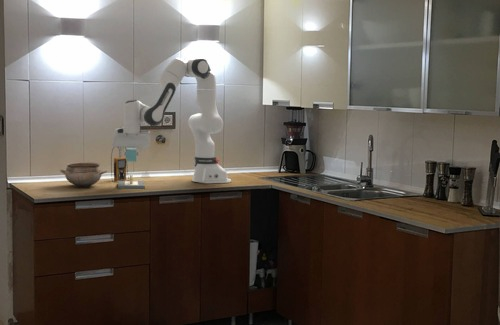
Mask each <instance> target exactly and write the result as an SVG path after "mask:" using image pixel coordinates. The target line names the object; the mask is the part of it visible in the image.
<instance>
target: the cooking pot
mask: <svg viewBox="0 0 500 325" xmlns="http://www.w3.org/2000/svg"><path fill="white" fill-rule="evenodd" d="M66 165H67V166H66V169H65V170H64V169H61V168H60V169H59V172H60V173H62V174H63V175H64V176H65V179H66V180H67V181H68V182H69V183H70V184H72V185H73V186H75V187H76V188H84V189H85V188H90V187H92V186H93V185H94V184H96V183H98V182H99V181H100V180H101V178H102V175H104V174H106V173H107V172H108V170H104V171H102V170H101V167H100V165H101V163H100V162H96V161H95V162H92V161H75V162H74V161H73V162H68V163H66Z"/></svg>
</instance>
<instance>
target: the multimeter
mask: <svg viewBox="0 0 500 325" xmlns="http://www.w3.org/2000/svg"><path fill="white" fill-rule="evenodd" d="M126 148H127V147H124V149H126ZM117 149H118V151H119V153H118V157H115V158H113V164H112V155H113V153H111V154H110V170H111V176H113V179H111V182H112V183H114V182H118V181H130V176H127V174H129V173H128V172H129V170H128V167H129V166H127V163H128V161H126V157H122V154H121V148H120V147H117ZM113 151H114V148H112V149H111V152H113ZM112 165H113V166H112ZM112 167H113V170H112ZM112 171H113V172H112ZM127 178H128V179H127Z"/></svg>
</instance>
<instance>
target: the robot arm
mask: <svg viewBox="0 0 500 325" xmlns="http://www.w3.org/2000/svg"><path fill="white" fill-rule="evenodd" d="M184 77H186V78H195V80H196V104H197V106H198V107H199V109H200V110H199V111H200V113H194V114H192V115H191V116H190V117H189V118H188V122H187V124H188V125H187V126H188V127H189V129H190V131H191V132H192V135H193V139H194V145H195V146H194V148H195V149H194V150H195V153H194V154H195V155H194V159H193V160H194V161H193V162H194V163H193V164H194V171H193V176H192V180H191V181H192V182H196V183H201V184H225V183H227V184H229V183H231V182H232V179H231V178H228V173H227V172H228V171H226V169H225V168H223V167H222V166H221V165H220V164H219V162H220V158H217V157H215V153H216V152H215V148H216V147H215V145H216V144H215V142H214V140H213V139H212V137H211V134H212V135H213V134H217V133H221V131H222V130H223V128H224V120H223V119H222V117H221V116H220V114H219V111H218V107H217V82H216V75H215V73H214V72H213V70H211V66H210V63H209V61H208V60H207V58H204V57H201V56H200V57H198V56H197V57H196V56H195V57H194V56H193V57H189V58H184V59H182V58H179V57H175V58H173V59H172V60H171V61H170V62H169V63H168V64H167V66H166V67H165V68H164V69H163V71H162V72H161V74H160V77H159V79H158V85H159V87H160V89H161V93H160V95H159V97H158V98H157V100H156V101H155V104H154V105H152V106H149V105H147V104H144V103H142V102H141V101H140V100H139V99H130V100H127V101H125V103H124V104H123V105H124V106H123V120H124V121H123V124H122V125H123V126H120V127H117V128H115V129H114V134H113V138H112V148H118V147H119V148H121V152H123V156H125V157H126V150H125V147H126V148H137V149H138V151H136V157H139V156H140V155H139V154H140V152H141V150H142V148H145V149H146V148H150V147H151V138H152V132H151V131H149V130H147V129H145V130H143V129H141V123H142V124H144V125H148V126H152V127H157V126H160V125H161V124H162V122H163V121H164V118H165V113H166V111H167V109H168V107H169V104H170V103H171V101H172V99H173V98H174V95H175V93H176V90H177V88H178V86H179V85H180V83H181V82H182V80H183V78H184Z"/></svg>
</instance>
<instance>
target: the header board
mask: <svg viewBox="0 0 500 325" xmlns="http://www.w3.org/2000/svg"><path fill="white" fill-rule="evenodd" d="M129 180H130V181H126V180H122V181H117V189H118V190H119V189H123V190H125V189H127V190H128V189H130V190H131V189H134V190H137V189H138V190H139V189H140V190H142V189H143V190H145V189H146V184H145V181H144V180H134V175H132V174H130V175H129Z"/></svg>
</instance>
